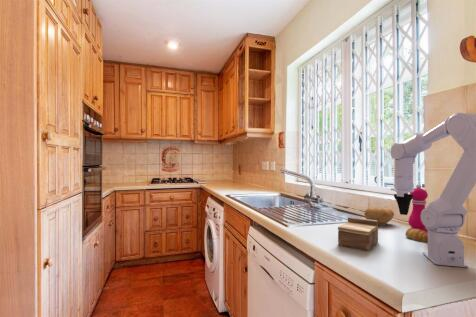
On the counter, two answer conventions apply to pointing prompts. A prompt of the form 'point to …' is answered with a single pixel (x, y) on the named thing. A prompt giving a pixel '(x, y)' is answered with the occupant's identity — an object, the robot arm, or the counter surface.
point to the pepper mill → (418, 208)
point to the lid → (359, 226)
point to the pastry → (417, 234)
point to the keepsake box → (358, 240)
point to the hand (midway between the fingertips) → (403, 214)
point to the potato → (379, 214)
